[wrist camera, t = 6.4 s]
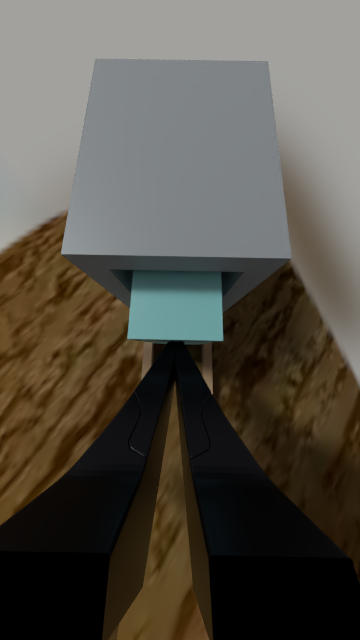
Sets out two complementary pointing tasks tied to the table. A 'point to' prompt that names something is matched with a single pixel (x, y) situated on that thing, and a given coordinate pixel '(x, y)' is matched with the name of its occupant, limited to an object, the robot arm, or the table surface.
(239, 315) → the table surface
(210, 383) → the track
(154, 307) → the slider
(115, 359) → the table surface
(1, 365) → the table surface
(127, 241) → the socket
